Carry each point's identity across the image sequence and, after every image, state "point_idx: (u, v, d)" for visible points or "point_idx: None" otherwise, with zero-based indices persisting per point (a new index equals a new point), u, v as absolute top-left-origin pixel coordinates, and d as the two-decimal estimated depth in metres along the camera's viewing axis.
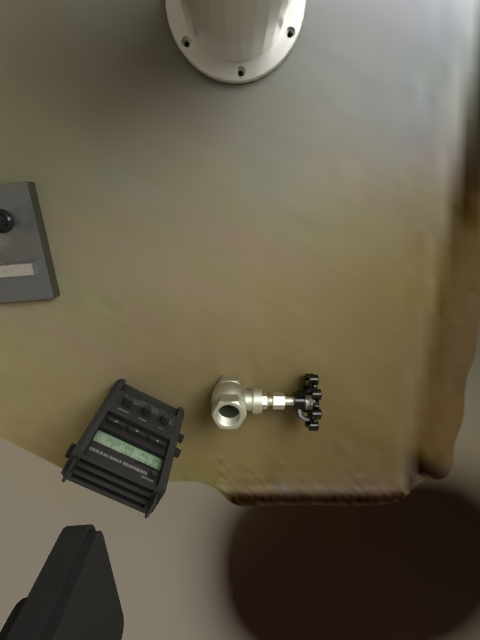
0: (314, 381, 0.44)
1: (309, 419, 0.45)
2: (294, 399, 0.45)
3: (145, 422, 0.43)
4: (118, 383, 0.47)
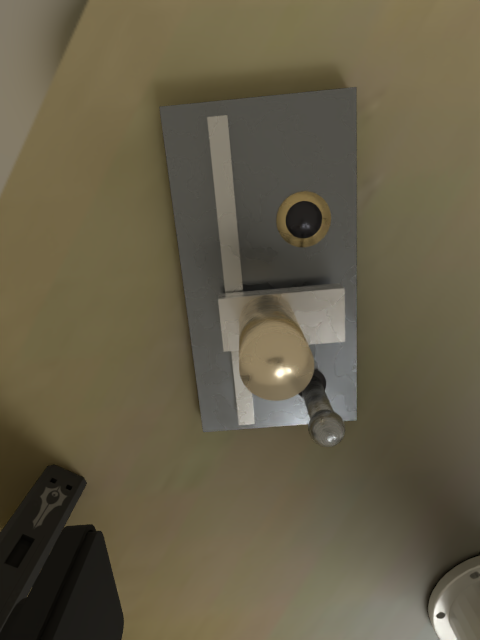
0: None
1: None
2: None
3: None
4: (80, 490, 0.33)
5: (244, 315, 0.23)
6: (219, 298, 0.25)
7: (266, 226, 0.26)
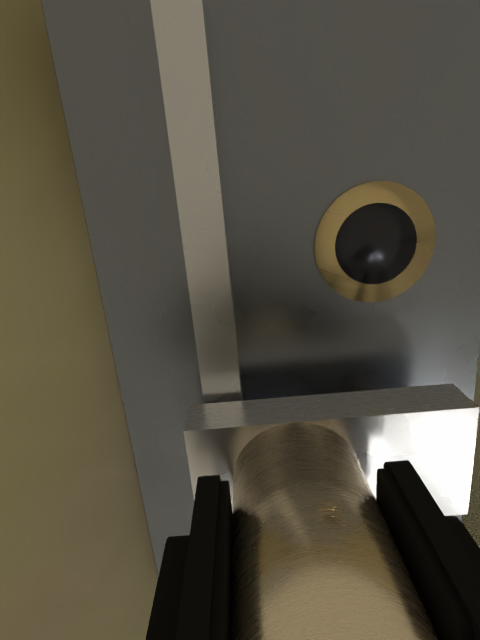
0: None
1: None
2: None
3: None
4: None
5: (245, 496, 0.09)
6: (187, 427, 0.11)
7: (292, 258, 0.12)
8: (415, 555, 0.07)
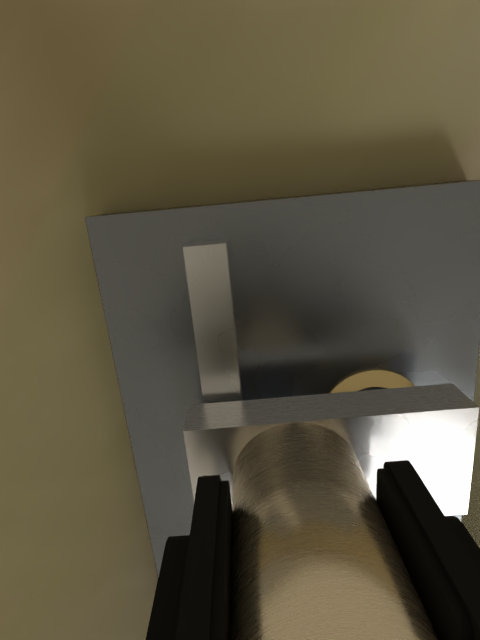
0: None
1: None
2: None
3: None
4: None
5: (245, 496, 0.09)
6: (187, 427, 0.11)
7: None
8: (415, 555, 0.07)
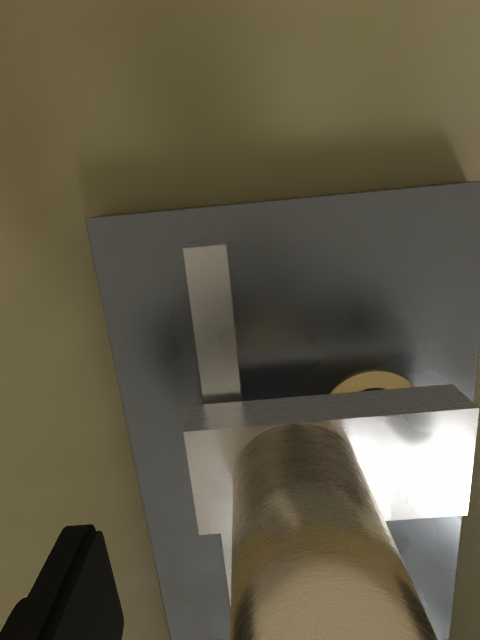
0: None
1: None
2: None
3: None
4: None
5: (245, 497, 0.09)
6: (187, 428, 0.11)
7: None
8: None
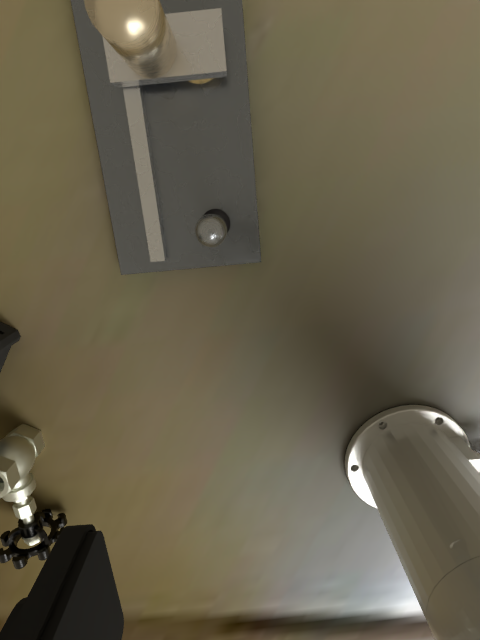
0: None
1: (11, 545, 0.39)
2: (31, 525, 0.39)
3: None
4: (13, 337, 0.36)
5: None
6: None
7: None
8: None
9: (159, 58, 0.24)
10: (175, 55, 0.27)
